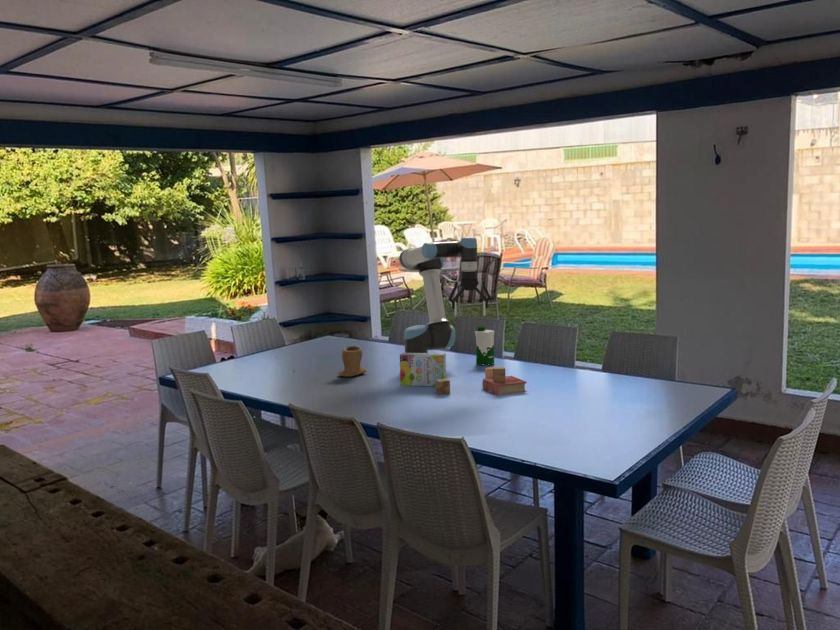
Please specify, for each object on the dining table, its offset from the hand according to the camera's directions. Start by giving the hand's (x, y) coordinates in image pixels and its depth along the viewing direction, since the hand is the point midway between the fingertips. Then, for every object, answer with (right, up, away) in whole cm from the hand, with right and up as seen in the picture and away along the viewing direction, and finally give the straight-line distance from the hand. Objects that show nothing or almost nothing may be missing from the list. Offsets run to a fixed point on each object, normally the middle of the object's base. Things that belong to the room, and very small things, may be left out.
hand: (470, 315), depth 340 cm
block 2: (+12, -29, -17) cm, 36 cm away
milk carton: (+11, -26, +45) cm, 53 cm away
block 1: (-13, -34, -18) cm, 41 cm away
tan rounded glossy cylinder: (+10, -32, -6) cm, 34 cm away
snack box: (-22, -33, -1) cm, 39 cm away
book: (+14, -34, -16) cm, 40 cm away
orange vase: (-57, -30, +26) cm, 70 cm away
